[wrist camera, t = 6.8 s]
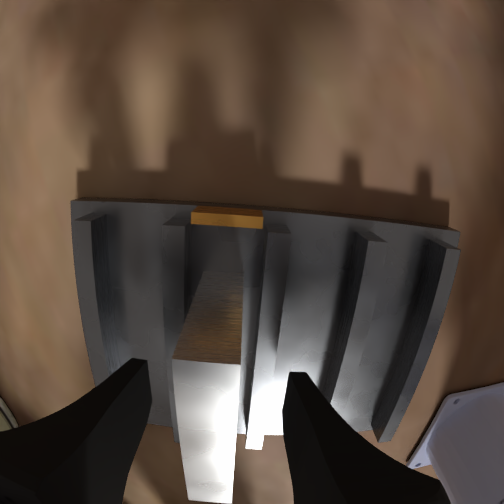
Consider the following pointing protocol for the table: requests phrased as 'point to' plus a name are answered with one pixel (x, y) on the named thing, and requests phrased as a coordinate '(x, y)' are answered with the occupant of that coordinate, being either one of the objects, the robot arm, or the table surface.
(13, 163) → the table surface
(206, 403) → the panel
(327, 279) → the rack
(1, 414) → the coffee can
